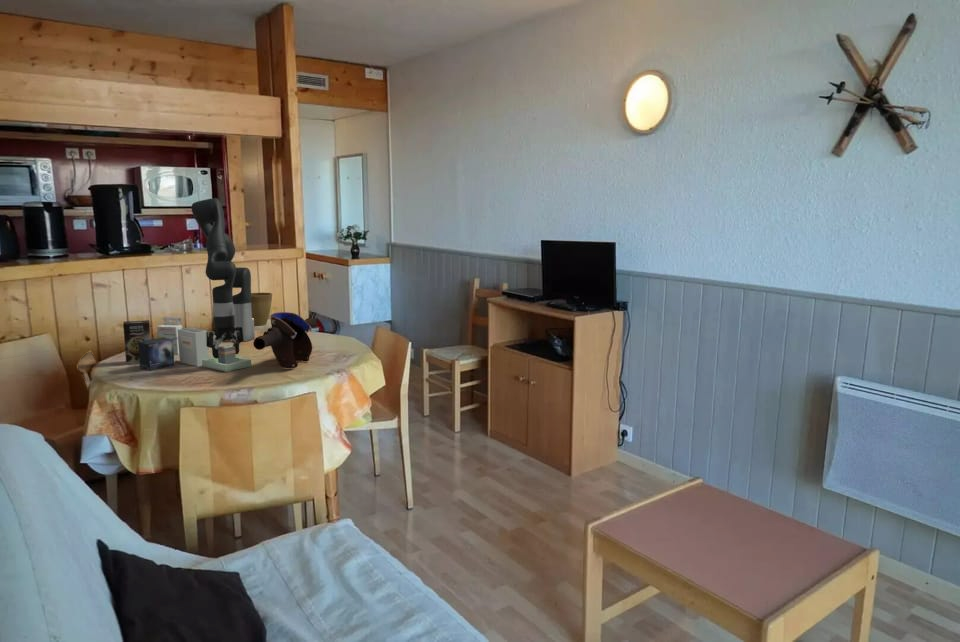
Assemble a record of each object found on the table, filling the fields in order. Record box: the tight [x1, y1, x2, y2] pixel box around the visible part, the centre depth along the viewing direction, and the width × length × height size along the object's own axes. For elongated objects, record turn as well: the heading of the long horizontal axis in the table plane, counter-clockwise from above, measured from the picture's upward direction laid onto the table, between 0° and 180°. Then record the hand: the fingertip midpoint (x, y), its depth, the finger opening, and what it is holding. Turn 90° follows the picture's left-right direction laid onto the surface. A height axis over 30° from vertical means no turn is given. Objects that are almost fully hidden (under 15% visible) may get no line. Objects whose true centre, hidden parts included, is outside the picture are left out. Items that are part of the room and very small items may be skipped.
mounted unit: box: [177, 327, 210, 367], centre depth 248 cm, size 6×12×13 cm, turn 56°
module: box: [217, 344, 237, 364], centre depth 243 cm, size 5×5×7 cm
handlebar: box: [252, 311, 318, 369], centre depth 246 cm, size 45×13×20 cm, turn 170°
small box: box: [138, 337, 176, 372], centre depth 241 cm, size 11×6×10 cm, turn 148°
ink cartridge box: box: [156, 316, 183, 356], centre depth 263 cm, size 9×5×15 cm, turn 84°
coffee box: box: [122, 320, 151, 365], centre depth 248 cm, size 9×6×16 cm
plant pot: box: [251, 292, 273, 327], centre depth 330 cm, size 15×15×16 cm
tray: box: [201, 356, 252, 373], centre depth 244 cm, size 11×15×3 cm
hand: (226, 355), depth 243 cm, fingers open, 8 cm apart
